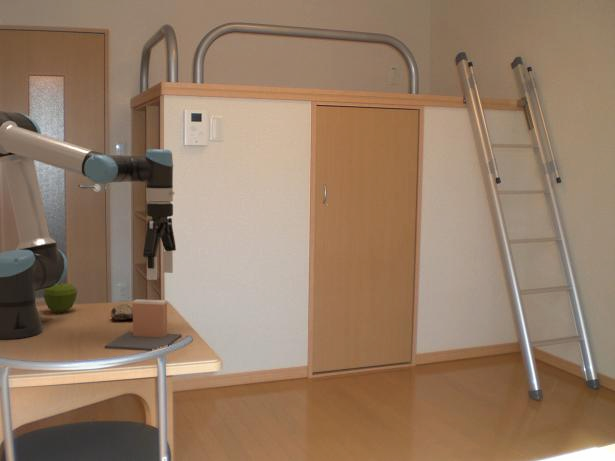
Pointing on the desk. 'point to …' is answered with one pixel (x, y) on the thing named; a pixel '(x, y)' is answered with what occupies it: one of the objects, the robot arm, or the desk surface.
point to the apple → (60, 297)
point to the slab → (150, 318)
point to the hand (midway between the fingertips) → (160, 276)
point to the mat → (141, 342)
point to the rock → (122, 312)
